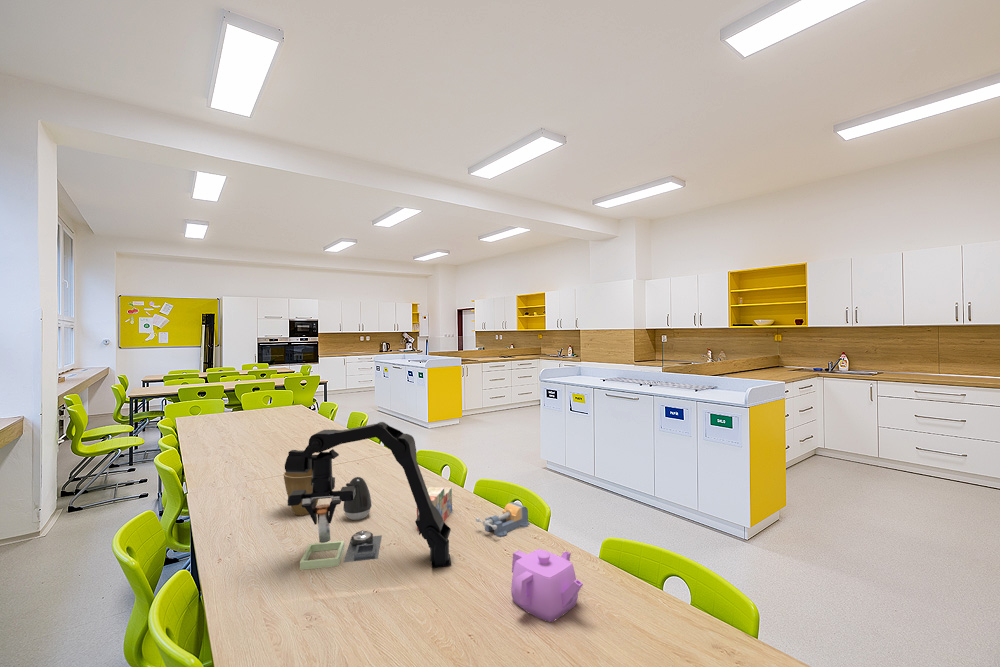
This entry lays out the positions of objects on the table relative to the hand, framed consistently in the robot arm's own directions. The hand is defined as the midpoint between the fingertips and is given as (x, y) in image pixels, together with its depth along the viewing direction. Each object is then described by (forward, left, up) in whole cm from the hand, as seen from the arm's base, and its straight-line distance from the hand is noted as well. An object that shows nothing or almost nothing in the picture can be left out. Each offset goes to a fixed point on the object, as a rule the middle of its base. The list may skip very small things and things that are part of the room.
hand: (323, 523), depth 136 cm
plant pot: (+42, +15, -12) cm, 46 cm away
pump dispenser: (+32, -6, -12) cm, 35 cm away
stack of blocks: (+22, -35, -12) cm, 43 cm away
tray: (0, 0, -12) cm, 12 cm away
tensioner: (+4, -11, -12) cm, 17 cm away
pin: (0, 0, -5) cm, 5 cm away
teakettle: (-34, -61, -12) cm, 71 cm away
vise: (+11, -58, -12) cm, 61 cm away
